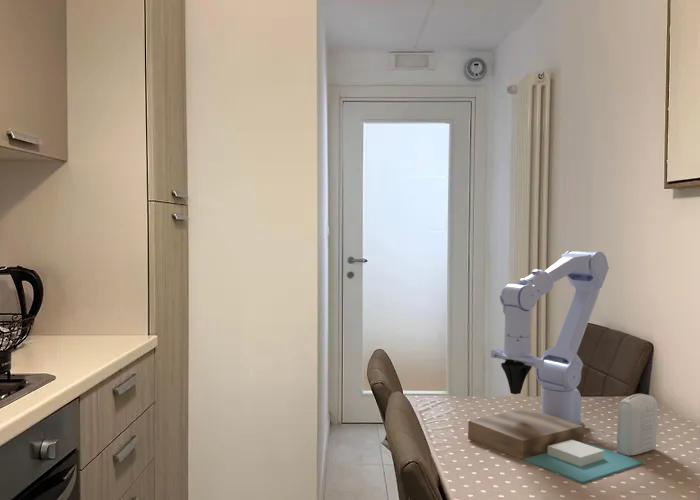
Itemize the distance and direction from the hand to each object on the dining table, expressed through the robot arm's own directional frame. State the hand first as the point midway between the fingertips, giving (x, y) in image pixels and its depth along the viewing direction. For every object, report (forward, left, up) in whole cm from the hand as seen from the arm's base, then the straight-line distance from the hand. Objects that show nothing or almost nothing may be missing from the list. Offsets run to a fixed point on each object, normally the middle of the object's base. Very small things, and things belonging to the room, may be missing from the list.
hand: (515, 393), depth 149 cm
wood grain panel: (+2, +5, -9) cm, 11 cm away
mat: (+2, +21, -9) cm, 23 cm away
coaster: (+2, +18, -9) cm, 20 cm away
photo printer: (-14, +22, -10) cm, 28 cm away
